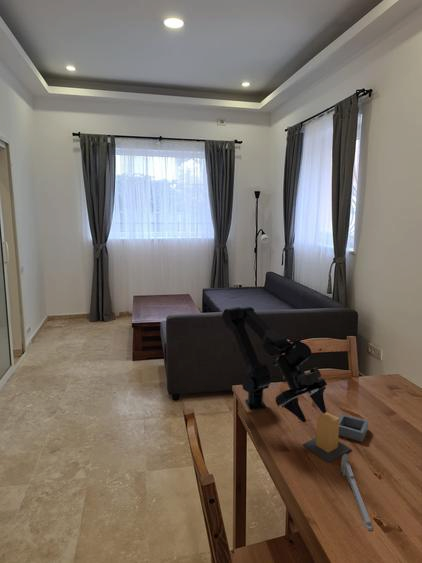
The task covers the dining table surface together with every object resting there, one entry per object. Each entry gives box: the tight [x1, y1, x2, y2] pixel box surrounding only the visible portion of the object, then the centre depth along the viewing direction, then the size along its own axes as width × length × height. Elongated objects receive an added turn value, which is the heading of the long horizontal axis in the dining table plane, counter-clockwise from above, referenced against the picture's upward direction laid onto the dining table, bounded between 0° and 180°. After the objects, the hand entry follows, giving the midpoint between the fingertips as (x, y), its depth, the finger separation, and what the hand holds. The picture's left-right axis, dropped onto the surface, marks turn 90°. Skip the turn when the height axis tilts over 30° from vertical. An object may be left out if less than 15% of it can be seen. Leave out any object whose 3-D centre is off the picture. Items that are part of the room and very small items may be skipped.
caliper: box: [340, 453, 373, 531], centre depth 94 cm, size 20×1×6 cm, turn 178°
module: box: [315, 411, 340, 452], centre depth 114 cm, size 4×4×10 cm
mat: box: [302, 437, 352, 463], centre depth 115 cm, size 10×10×1 cm
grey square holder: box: [338, 413, 369, 443], centre depth 123 cm, size 8×8×3 cm
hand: (315, 417), depth 118 cm, fingers open, 9 cm apart
